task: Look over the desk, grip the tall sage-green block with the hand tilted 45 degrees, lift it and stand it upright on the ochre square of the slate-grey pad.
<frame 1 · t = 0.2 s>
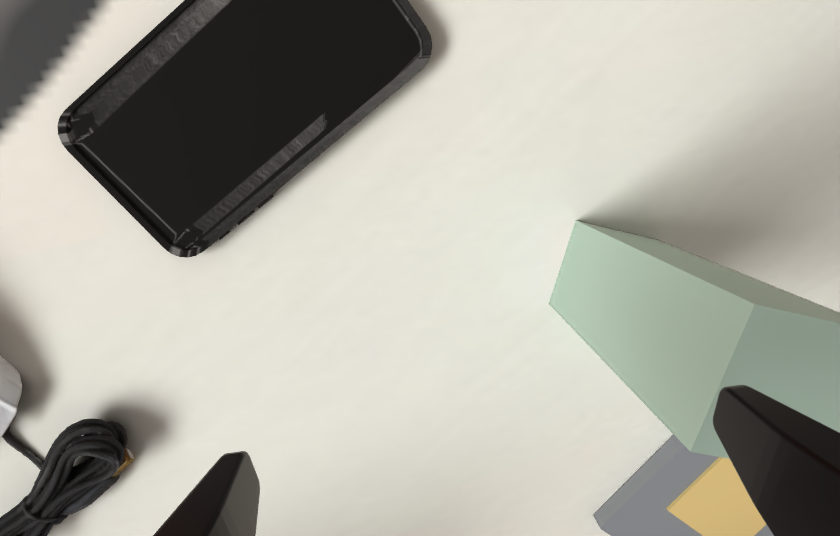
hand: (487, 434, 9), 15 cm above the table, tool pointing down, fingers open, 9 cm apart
phone: (254, 92, 22), on the table
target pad: (722, 485, 29), on the table
sage block: (602, 272, 25), on the table
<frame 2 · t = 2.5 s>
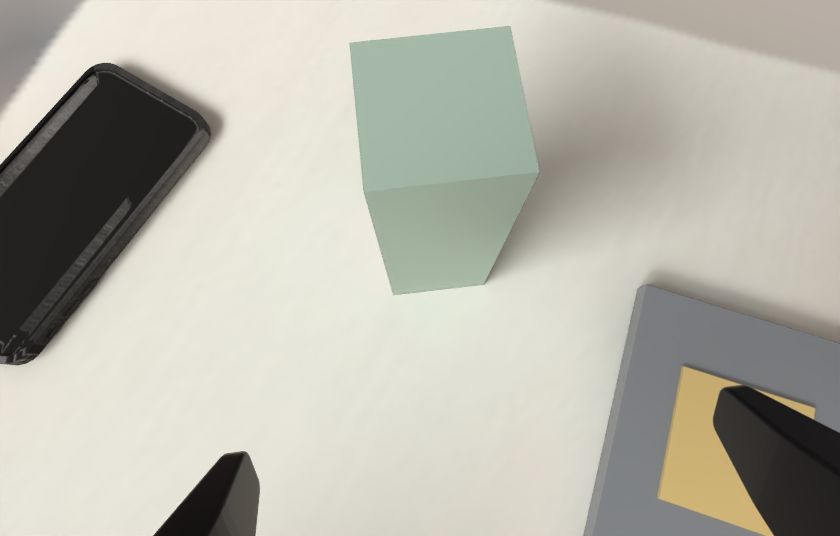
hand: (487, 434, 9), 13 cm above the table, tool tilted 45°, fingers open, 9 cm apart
phone: (77, 210, 26), on the table
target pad: (722, 449, 22), on the table
sage block: (432, 246, 24), on the table
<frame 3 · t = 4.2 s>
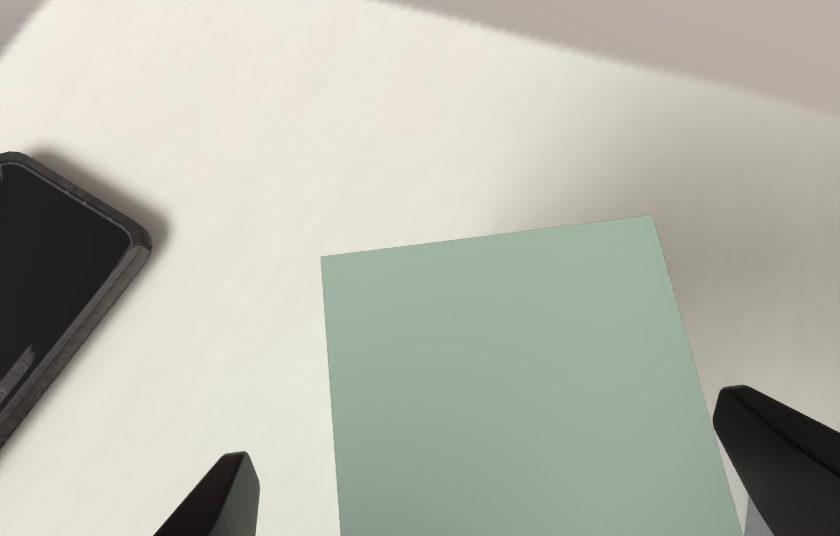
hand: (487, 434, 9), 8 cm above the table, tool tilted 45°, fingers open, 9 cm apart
sage block: (457, 413, 17), on the table
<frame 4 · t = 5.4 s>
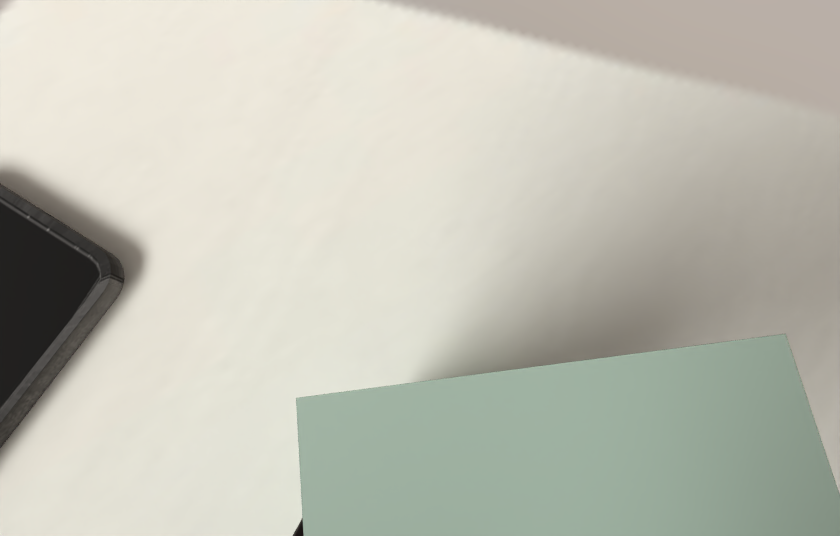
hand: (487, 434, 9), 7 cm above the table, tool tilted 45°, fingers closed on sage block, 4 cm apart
sage block: (469, 471, 15), on the table, touching gripper
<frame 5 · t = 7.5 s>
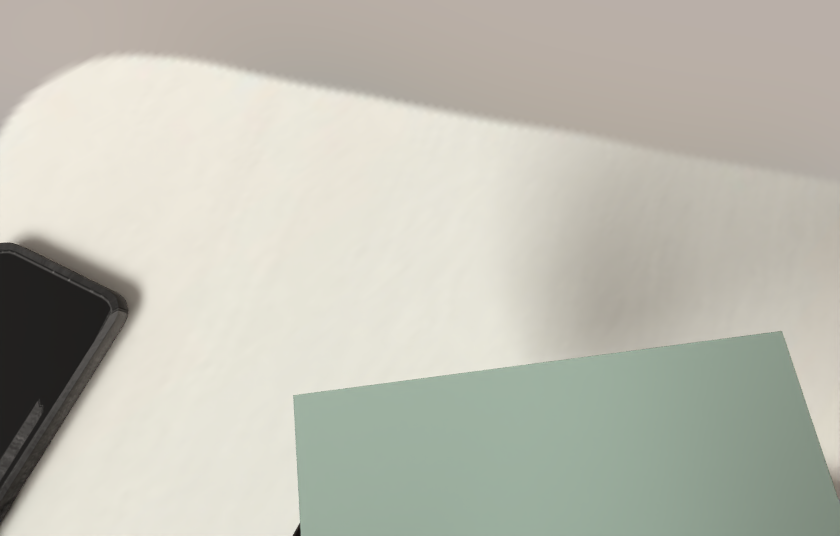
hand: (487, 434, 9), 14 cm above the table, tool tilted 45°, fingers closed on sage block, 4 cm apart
sage block: (468, 470, 15), point 7 cm above the table, touching gripper
when the fingers open (9 cm above the table, at t = 9.9 s): sage block drops 1 cm, resting on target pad.
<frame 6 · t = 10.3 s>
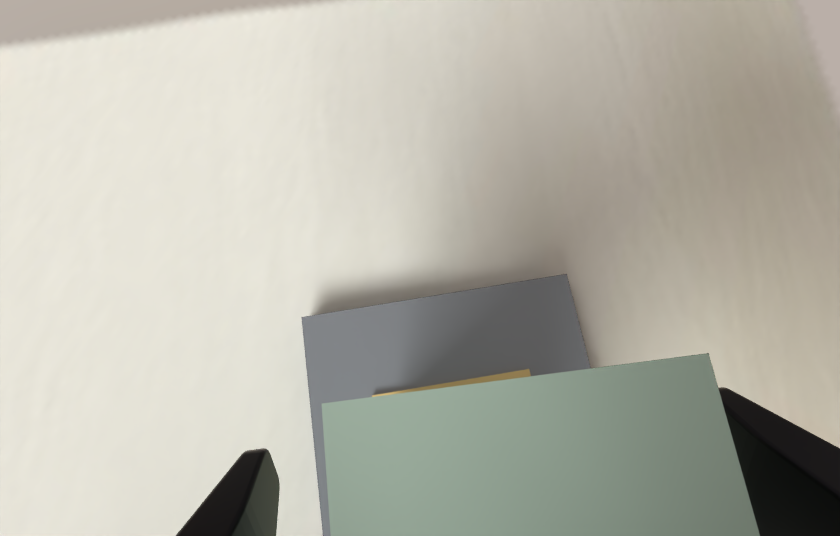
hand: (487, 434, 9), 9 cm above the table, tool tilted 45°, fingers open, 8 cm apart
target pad: (463, 463, 18), on the table
sage block: (464, 464, 16), point 1 cm above the table, touching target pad
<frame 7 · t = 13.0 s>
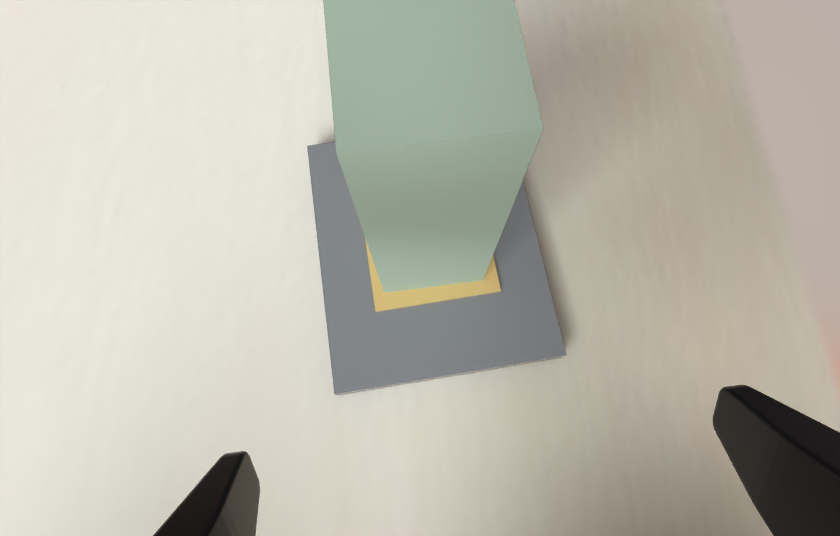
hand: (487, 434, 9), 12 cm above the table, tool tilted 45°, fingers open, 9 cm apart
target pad: (427, 250, 24), on the table
sage block: (427, 240, 22), point 1 cm above the table, touching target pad
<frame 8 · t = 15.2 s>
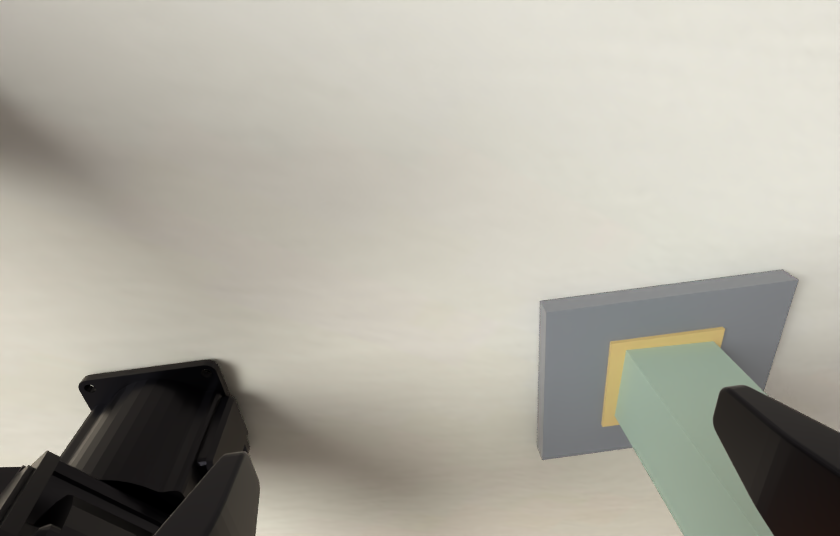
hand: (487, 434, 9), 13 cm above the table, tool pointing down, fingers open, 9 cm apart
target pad: (649, 365, 26), on the table
sage block: (662, 380, 25), point 1 cm above the table, touching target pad
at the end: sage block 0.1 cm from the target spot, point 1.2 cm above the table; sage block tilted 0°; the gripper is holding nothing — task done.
